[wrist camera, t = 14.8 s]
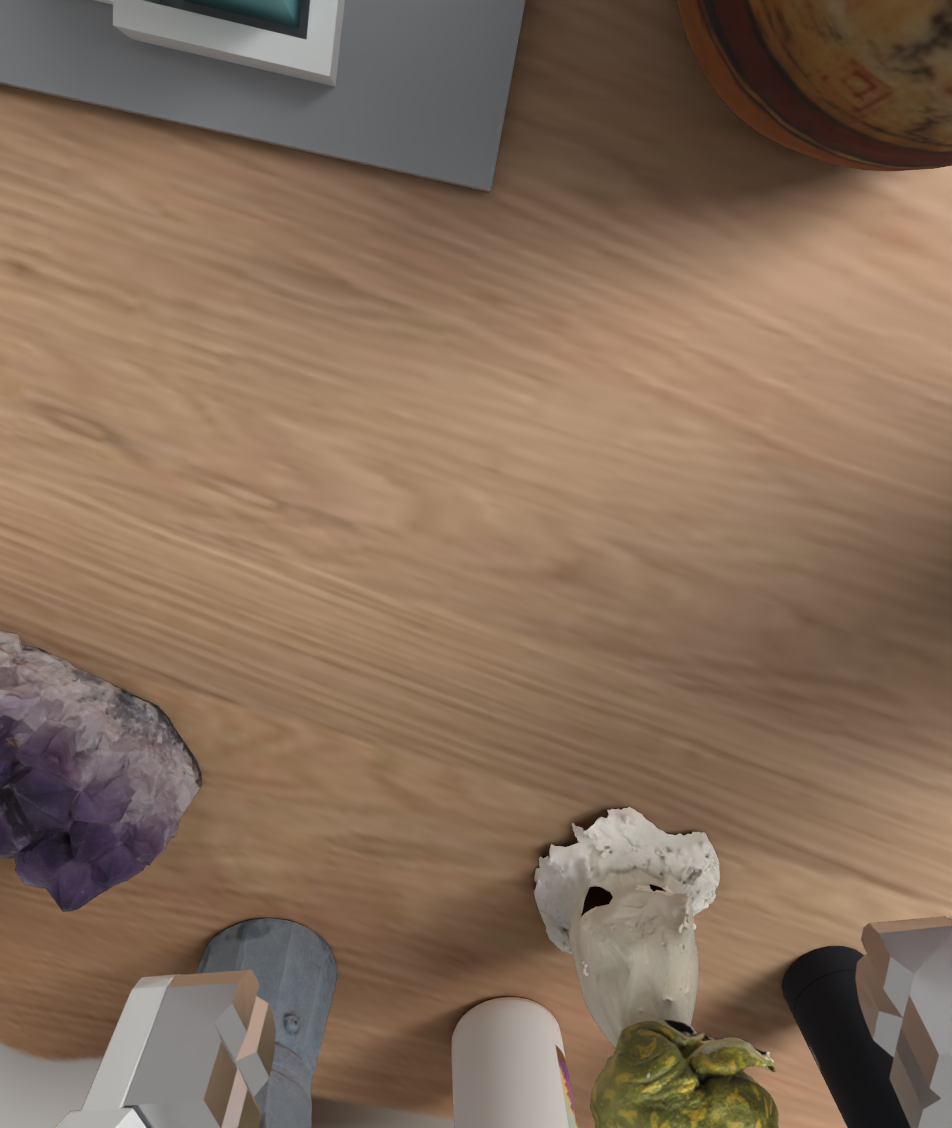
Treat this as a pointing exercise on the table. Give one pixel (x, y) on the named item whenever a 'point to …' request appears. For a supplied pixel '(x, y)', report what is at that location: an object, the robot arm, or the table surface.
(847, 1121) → the wine bottle
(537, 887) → the green-topped white figurine
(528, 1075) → the milk bottle
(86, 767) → the geode
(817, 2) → the ceramic pitcher
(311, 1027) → the moka pot
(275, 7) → the teal box with slot
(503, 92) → the grey socket base board
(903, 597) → the table surface
